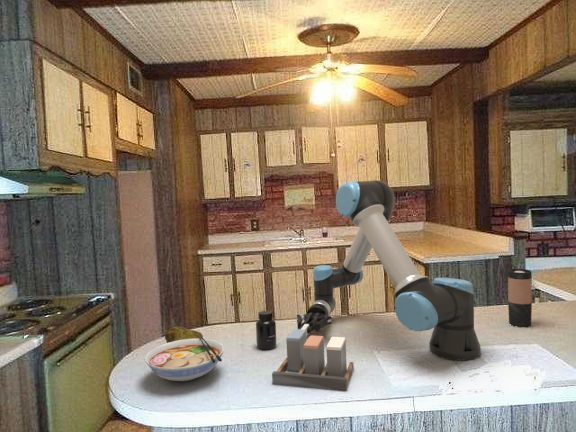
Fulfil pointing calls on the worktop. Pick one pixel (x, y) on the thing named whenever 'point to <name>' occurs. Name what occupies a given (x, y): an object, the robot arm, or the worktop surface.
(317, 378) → the key bed
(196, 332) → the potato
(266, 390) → the worktop surface
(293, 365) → the slate key
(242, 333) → the worktop surface
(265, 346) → the supplement bottle
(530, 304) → the travel mug
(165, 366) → the ramen bowl
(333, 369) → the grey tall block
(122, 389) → the worktop surface
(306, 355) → the terracotta key
